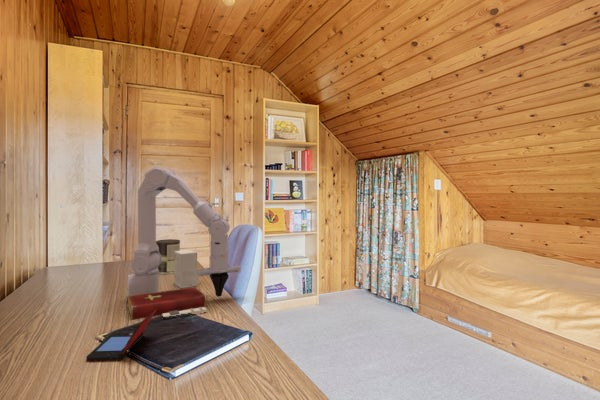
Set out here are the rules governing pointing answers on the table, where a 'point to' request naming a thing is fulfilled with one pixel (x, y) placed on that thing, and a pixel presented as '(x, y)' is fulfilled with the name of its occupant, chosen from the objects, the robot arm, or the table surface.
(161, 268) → the coffee can
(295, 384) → the table surface
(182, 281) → the small box
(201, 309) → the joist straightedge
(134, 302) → the hardcover book
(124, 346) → the handheld game console
